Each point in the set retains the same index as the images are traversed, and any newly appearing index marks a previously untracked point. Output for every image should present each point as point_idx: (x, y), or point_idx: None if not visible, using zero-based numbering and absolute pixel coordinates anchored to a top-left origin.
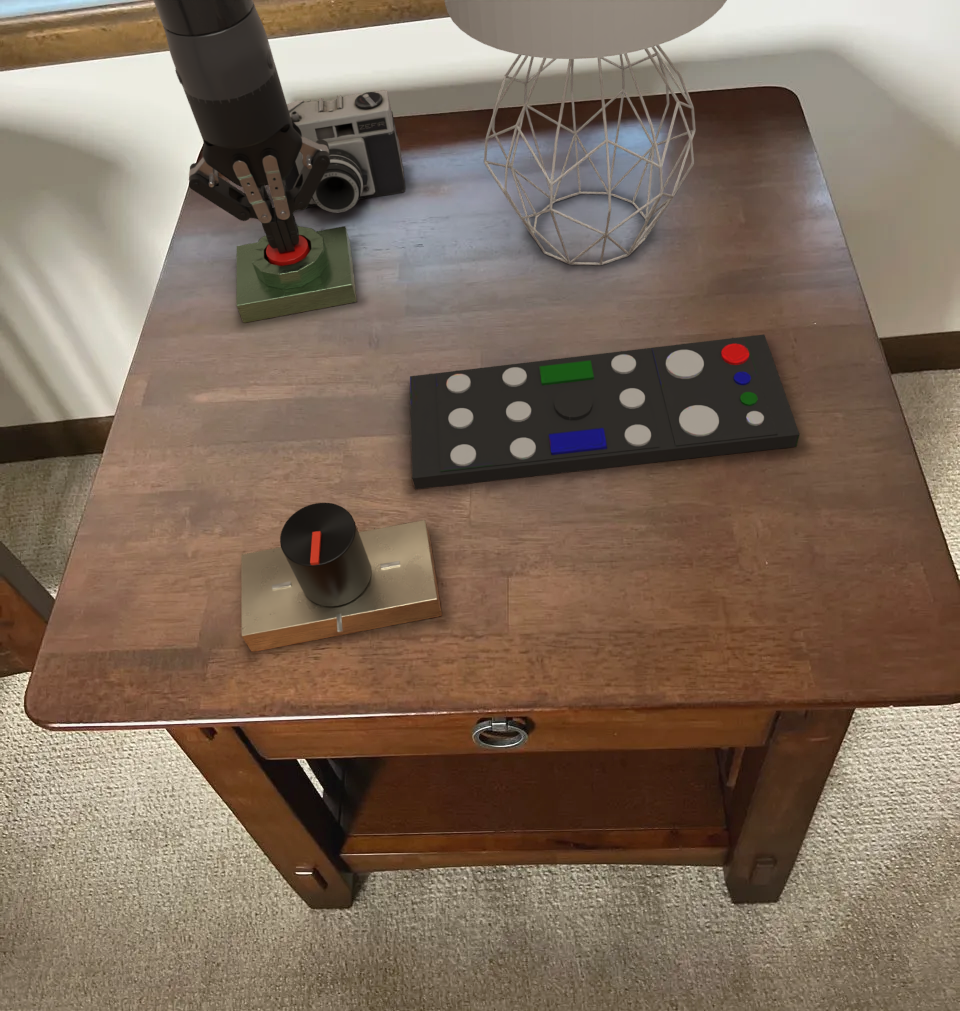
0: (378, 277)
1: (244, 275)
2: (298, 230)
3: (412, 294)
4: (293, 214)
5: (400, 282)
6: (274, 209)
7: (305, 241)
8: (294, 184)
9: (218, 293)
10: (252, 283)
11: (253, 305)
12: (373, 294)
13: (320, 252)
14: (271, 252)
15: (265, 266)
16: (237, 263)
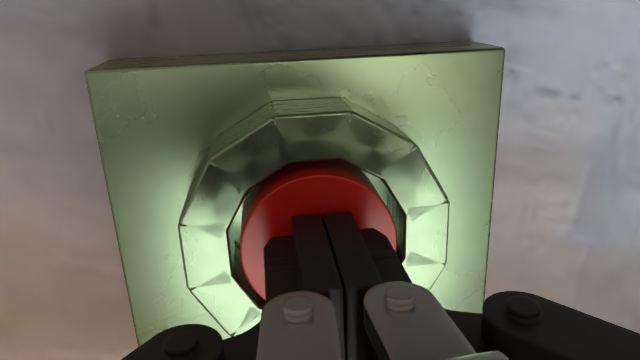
0: (525, 209)
1: (146, 242)
2: (386, 238)
3: (590, 283)
4: (408, 276)
5: (574, 238)
6: (338, 308)
7: (390, 229)
8: (517, 337)
9: (47, 192)
10: (181, 282)
11: None
12: (501, 269)
13: (434, 281)
14: (262, 268)
15: (242, 320)
16: (108, 177)
